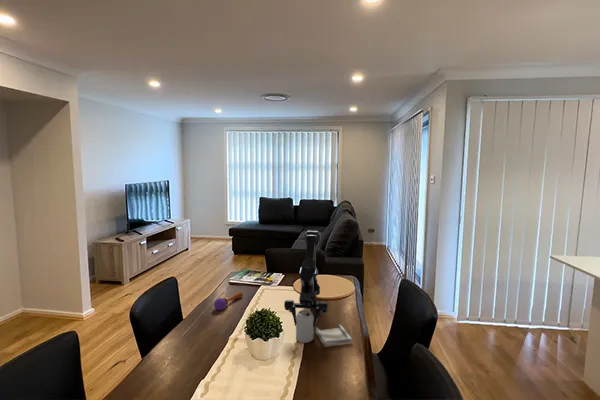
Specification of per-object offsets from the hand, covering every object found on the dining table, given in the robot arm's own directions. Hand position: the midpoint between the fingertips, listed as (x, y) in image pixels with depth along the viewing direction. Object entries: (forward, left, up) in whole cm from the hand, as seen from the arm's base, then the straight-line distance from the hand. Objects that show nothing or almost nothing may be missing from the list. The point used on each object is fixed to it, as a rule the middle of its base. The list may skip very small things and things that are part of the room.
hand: (304, 326), depth 136 cm
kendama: (-49, -17, -7) cm, 53 cm away
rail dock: (+4, +12, -7) cm, 14 cm away
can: (-1, +1, -7) cm, 7 cm away
